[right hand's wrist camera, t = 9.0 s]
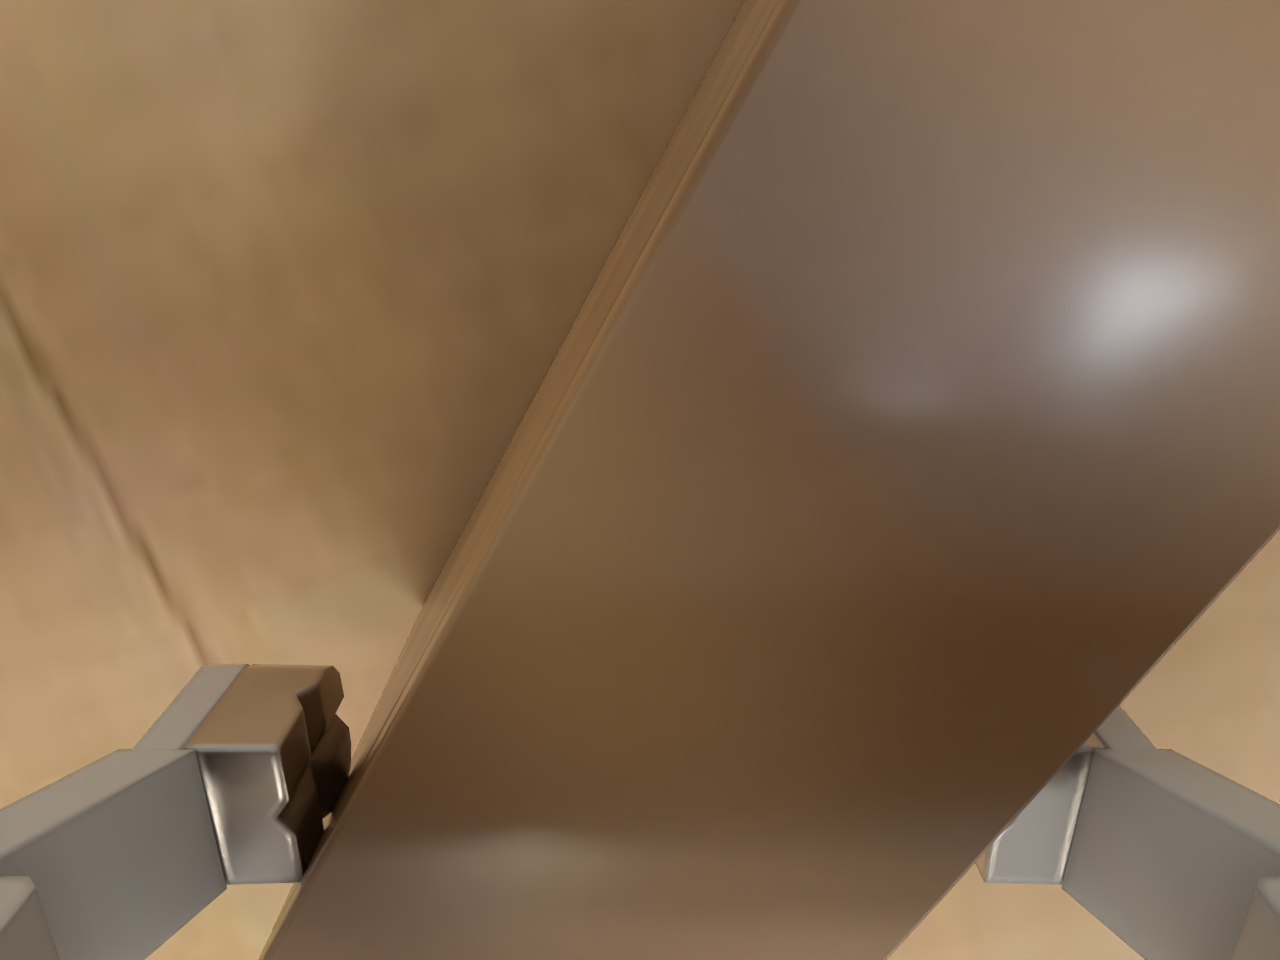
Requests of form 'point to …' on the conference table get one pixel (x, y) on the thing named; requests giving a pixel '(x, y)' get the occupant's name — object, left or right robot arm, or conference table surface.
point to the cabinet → (840, 493)
